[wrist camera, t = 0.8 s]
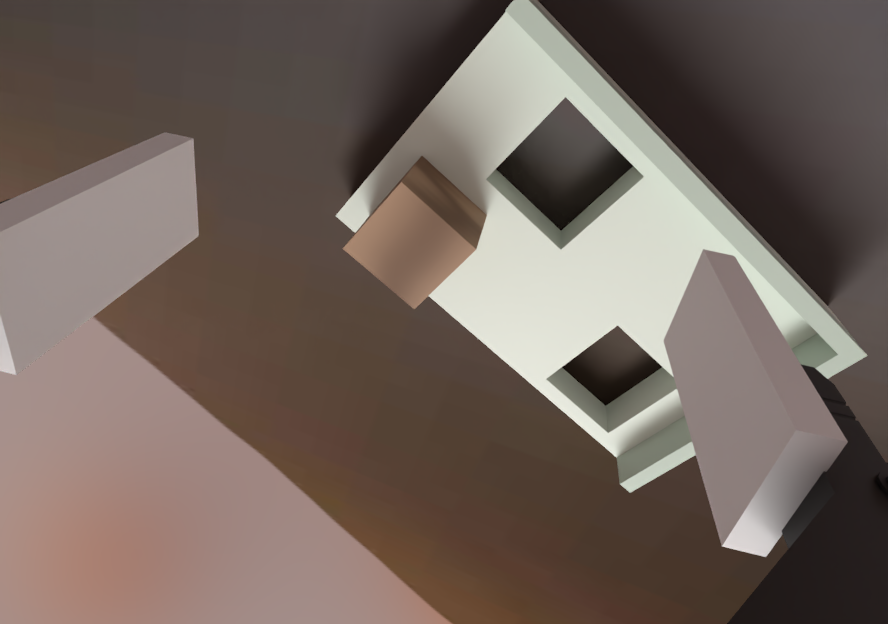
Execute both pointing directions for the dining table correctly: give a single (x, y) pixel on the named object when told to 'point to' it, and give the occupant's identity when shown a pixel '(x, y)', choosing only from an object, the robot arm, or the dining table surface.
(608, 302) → the tray
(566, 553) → the dining table surface
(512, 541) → the dining table surface
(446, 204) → the walnut block
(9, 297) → the robot arm
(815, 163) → the dining table surface
